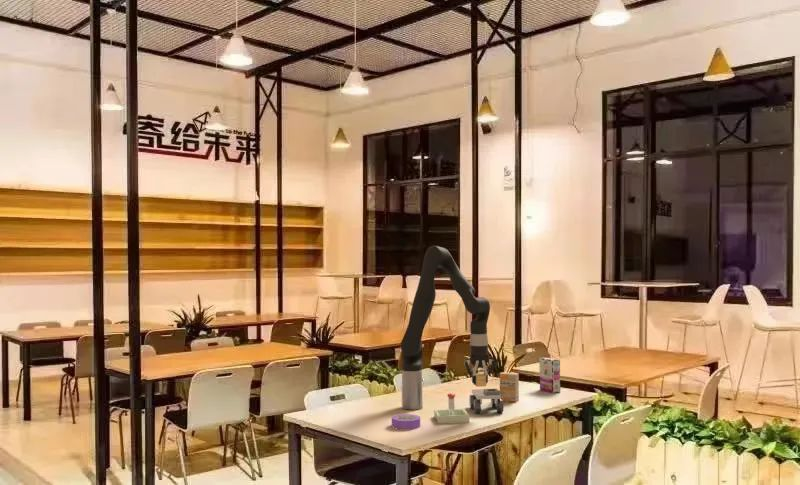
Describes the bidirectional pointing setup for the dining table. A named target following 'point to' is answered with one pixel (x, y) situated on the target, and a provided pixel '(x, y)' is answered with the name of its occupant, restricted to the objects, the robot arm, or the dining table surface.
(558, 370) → the candy bar box
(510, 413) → the dining table surface
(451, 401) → the pin
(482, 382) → the block
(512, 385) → the supplement box
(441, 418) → the tray
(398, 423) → the masking tape
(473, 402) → the trolley
